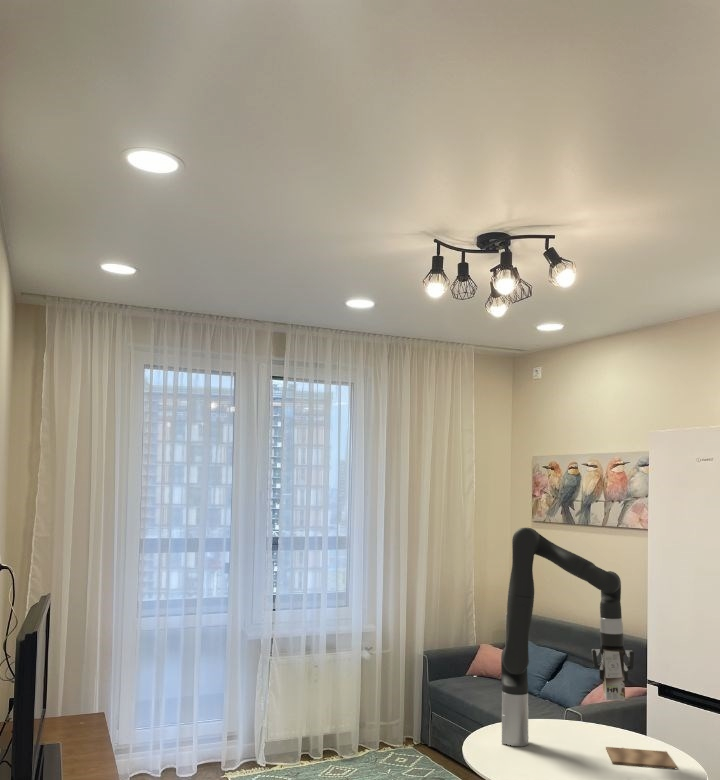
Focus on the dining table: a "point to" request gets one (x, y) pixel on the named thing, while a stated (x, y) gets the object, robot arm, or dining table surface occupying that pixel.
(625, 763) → the walnut board
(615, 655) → the coffee box
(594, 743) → the dining table surface
